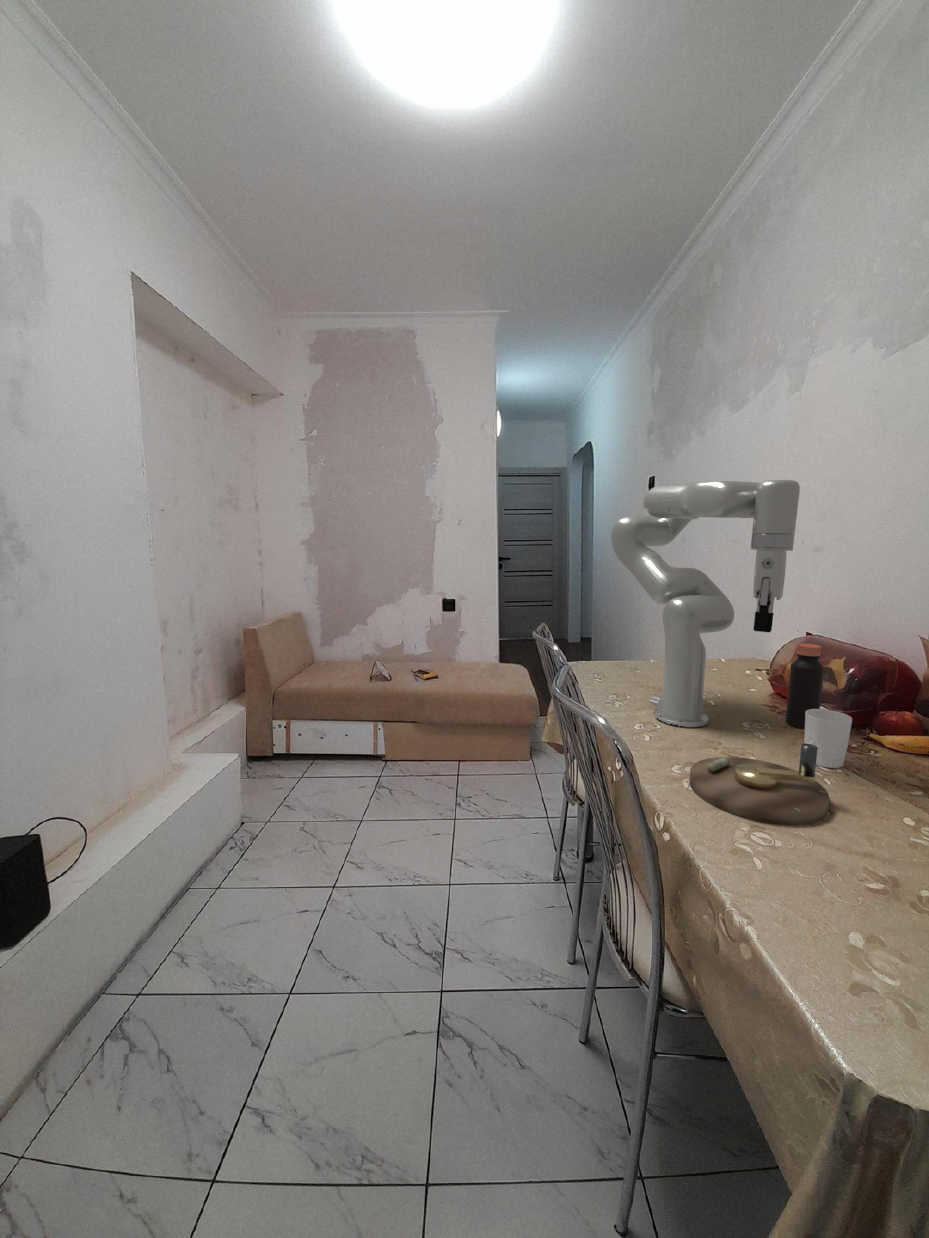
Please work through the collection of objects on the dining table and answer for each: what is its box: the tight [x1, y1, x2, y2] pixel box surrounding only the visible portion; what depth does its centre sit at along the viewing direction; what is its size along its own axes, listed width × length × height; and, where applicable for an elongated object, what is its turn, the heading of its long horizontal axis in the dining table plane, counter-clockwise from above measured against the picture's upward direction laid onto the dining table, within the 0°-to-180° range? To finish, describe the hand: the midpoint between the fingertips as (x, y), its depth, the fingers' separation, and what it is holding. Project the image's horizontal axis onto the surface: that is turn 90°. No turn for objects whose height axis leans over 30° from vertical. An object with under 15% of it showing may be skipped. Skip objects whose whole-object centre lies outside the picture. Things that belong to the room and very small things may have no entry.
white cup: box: [803, 708, 853, 769], centre depth 108 cm, size 8×8×10 cm
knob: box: [734, 743, 818, 789], centre depth 95 cm, size 13×7×7 cm, turn 76°
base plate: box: [689, 756, 830, 825], centre depth 96 cm, size 22×22×4 cm
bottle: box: [785, 643, 825, 730], centre depth 129 cm, size 7×7×20 cm
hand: (762, 630), depth 111 cm, fingers closed
